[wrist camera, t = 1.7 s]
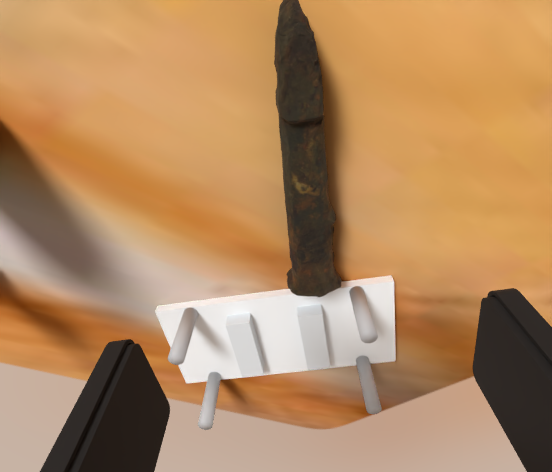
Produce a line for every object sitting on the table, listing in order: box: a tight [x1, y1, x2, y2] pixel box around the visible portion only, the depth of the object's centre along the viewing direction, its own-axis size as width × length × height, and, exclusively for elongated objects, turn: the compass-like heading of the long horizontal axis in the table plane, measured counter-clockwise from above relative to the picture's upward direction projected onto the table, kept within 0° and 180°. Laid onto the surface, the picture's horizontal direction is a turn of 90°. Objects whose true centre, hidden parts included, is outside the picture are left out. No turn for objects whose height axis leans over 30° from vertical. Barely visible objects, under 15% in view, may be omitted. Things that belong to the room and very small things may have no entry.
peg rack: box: [155, 275, 396, 430], centre depth 31 cm, size 20×9×6 cm, turn 100°
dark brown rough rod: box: [274, 0, 342, 297], centre depth 24 cm, size 19×4×5 cm, turn 4°
